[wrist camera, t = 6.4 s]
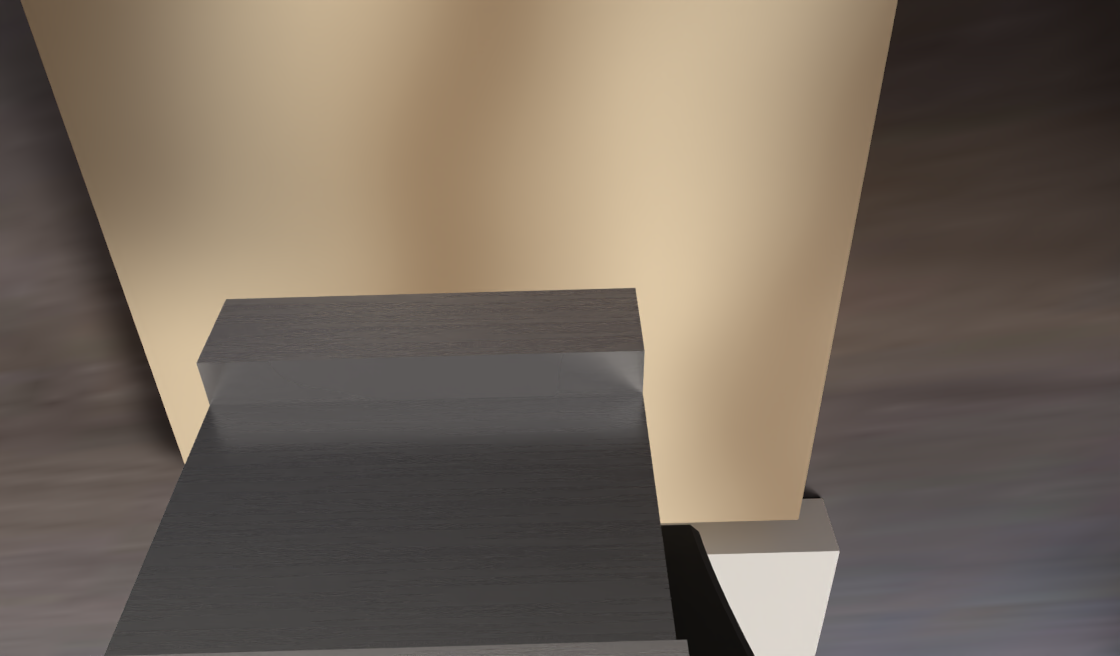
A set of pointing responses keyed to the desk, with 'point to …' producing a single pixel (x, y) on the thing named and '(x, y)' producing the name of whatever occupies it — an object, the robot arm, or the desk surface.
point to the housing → (414, 484)
